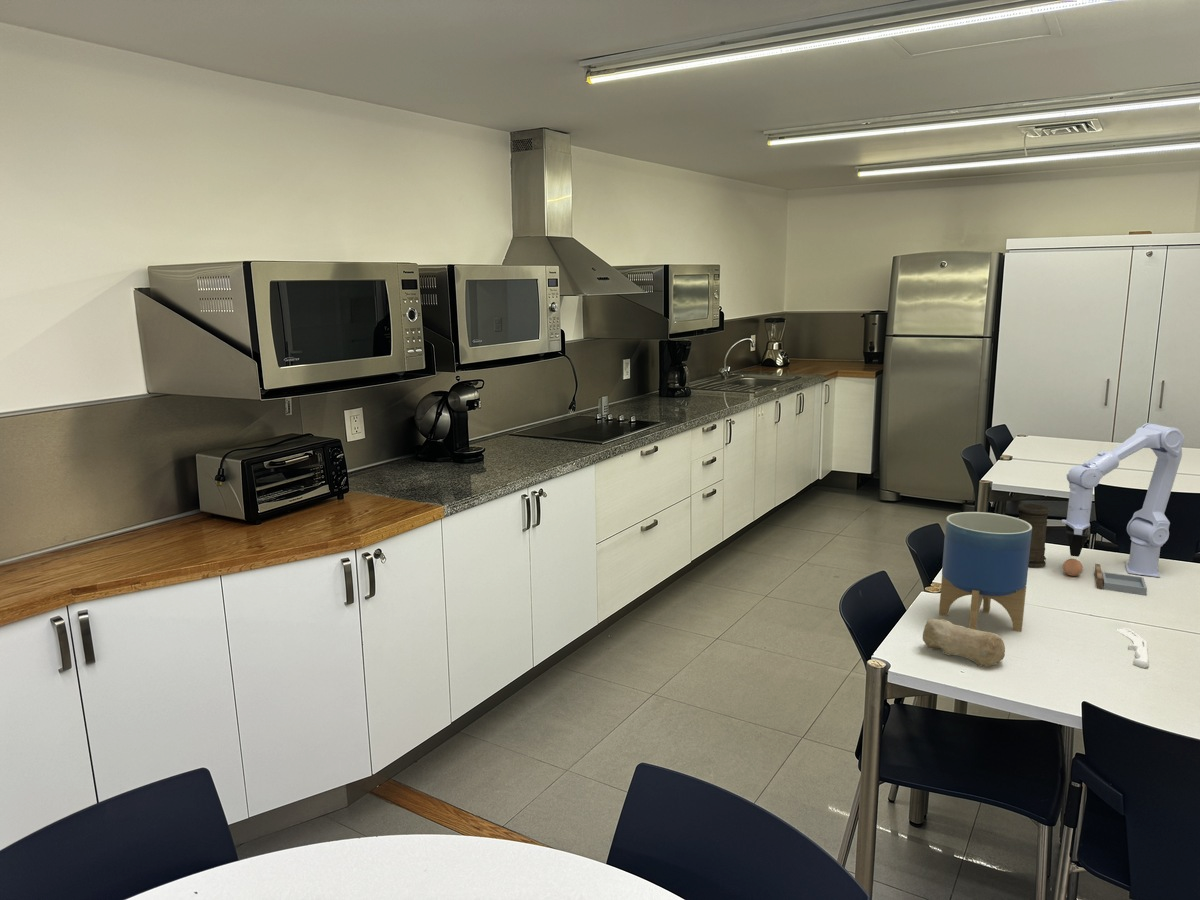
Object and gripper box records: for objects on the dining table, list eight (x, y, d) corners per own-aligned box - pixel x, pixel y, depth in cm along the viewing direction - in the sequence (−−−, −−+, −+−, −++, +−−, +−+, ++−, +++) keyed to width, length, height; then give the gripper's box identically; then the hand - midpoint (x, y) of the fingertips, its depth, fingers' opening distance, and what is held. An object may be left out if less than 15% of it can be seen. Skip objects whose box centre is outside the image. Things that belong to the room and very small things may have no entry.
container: (1050, 568, 246) (1056, 510, 242) (1020, 568, 246) (1026, 510, 243) (1035, 558, 255) (1041, 502, 251) (1006, 558, 255) (1011, 502, 251)
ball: (1062, 571, 243) (1063, 555, 242) (1081, 574, 241) (1083, 557, 240) (1062, 576, 239) (1064, 560, 238) (1082, 579, 236) (1083, 562, 236)
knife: (1109, 615, 210) (1145, 620, 206) (1108, 621, 210) (1144, 627, 206) (1108, 655, 185) (1149, 662, 180) (1108, 662, 185) (1149, 669, 181)
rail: (1094, 573, 241) (1095, 563, 241) (1099, 573, 241) (1100, 564, 240) (1096, 588, 229) (1098, 578, 229) (1101, 589, 229) (1103, 579, 228)
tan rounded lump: (933, 626, 197) (925, 605, 191) (1011, 643, 187) (1005, 622, 180) (923, 658, 193) (915, 638, 187) (1002, 677, 183) (996, 657, 176)
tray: (1101, 578, 237) (1102, 571, 237) (1142, 584, 233) (1143, 577, 232) (1103, 589, 229) (1104, 582, 228) (1146, 595, 224) (1147, 588, 224)
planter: (948, 602, 220) (955, 507, 215) (1027, 618, 209) (1037, 519, 204) (930, 626, 204) (937, 525, 199) (1014, 645, 193) (1025, 538, 188)
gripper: (1063, 500, 244) (1058, 543, 247) (1064, 511, 231) (1058, 557, 234) (1090, 502, 241) (1085, 547, 243) (1093, 514, 228) (1087, 561, 231)
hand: (1074, 552), depth 238 cm, fingers open, 7 cm apart
